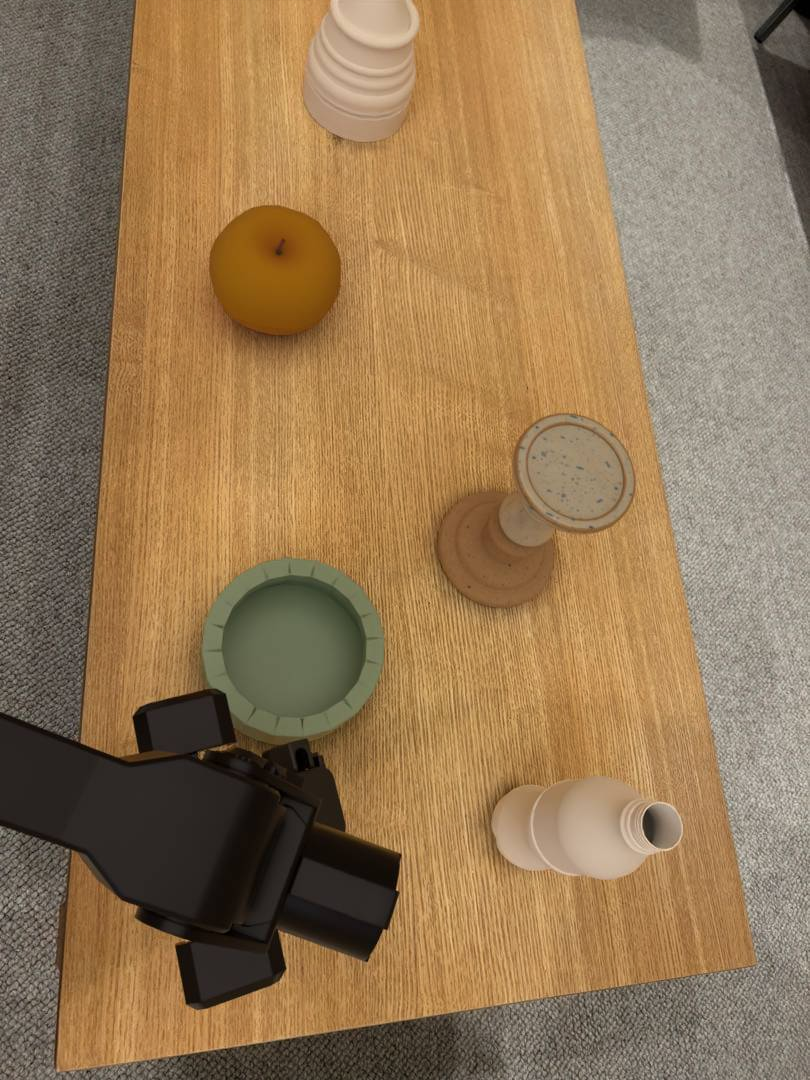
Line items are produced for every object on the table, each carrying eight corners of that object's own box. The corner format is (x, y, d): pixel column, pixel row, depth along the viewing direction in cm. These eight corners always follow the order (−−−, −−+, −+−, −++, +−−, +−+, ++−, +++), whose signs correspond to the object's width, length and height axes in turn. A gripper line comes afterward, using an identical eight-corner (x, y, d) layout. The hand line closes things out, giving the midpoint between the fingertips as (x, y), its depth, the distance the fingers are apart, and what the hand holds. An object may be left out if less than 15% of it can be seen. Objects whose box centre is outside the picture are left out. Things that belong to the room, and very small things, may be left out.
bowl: (222, 765, 70) (224, 759, 64) (187, 599, 74) (185, 578, 68) (388, 720, 75) (405, 710, 68) (346, 566, 79) (358, 542, 72)
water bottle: (546, 881, 73) (701, 904, 50) (473, 852, 72) (597, 863, 49) (566, 802, 76) (722, 791, 53) (497, 774, 75) (624, 750, 52)
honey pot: (427, 110, 101) (470, -31, 84) (358, 159, 96) (390, 19, 79) (351, 44, 102) (380, -108, 85) (280, 89, 97) (295, -63, 80)
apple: (346, 351, 87) (365, 285, 76) (226, 373, 83) (229, 306, 72) (310, 252, 90) (324, 176, 79) (194, 268, 86) (192, 190, 75)
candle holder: (430, 494, 83) (494, 398, 65) (541, 495, 86) (632, 403, 68) (442, 611, 79) (514, 544, 61) (559, 607, 82) (661, 542, 64)
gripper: (385, 966, 46) (342, 933, 60) (306, 649, 51) (283, 689, 65) (185, 1040, 42) (190, 987, 57) (121, 693, 47) (140, 725, 62)
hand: (207, 838), depth 60 cm, fingers closed on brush, 2 cm apart
